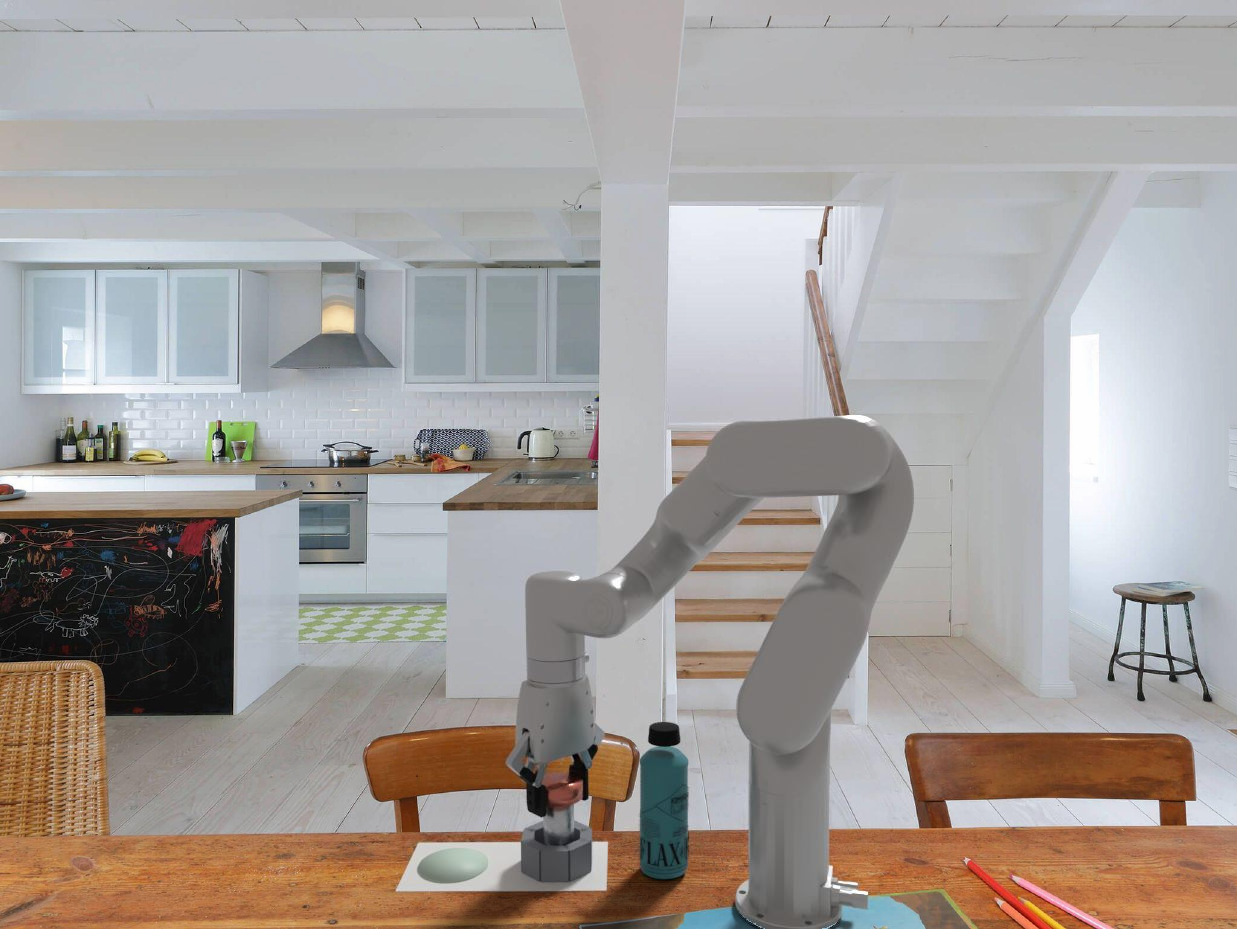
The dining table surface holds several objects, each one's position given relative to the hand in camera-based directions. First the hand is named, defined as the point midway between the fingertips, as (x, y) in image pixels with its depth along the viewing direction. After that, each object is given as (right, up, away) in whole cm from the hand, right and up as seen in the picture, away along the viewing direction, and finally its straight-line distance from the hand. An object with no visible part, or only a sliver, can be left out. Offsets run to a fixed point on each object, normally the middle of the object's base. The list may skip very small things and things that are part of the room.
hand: (558, 804), depth 119 cm
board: (-7, -9, +1) cm, 11 cm away
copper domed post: (0, -7, 0) cm, 7 cm away
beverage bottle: (+14, -9, -1) cm, 17 cm away
